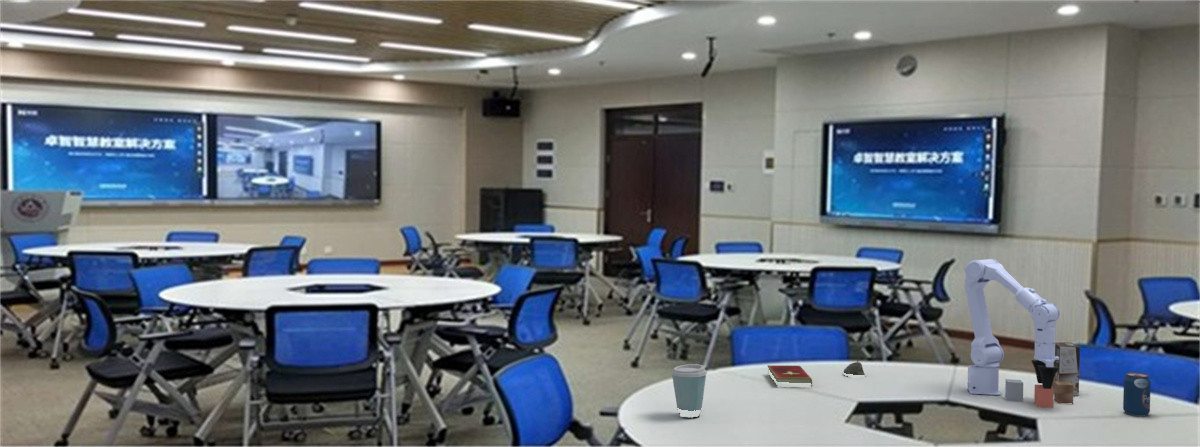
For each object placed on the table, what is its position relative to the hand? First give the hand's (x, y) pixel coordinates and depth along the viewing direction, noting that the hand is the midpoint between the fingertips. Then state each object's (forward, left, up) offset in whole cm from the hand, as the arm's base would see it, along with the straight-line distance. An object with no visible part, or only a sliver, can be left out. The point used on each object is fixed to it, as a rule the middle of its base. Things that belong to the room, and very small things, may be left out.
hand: (1044, 385), depth 284 cm
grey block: (-8, +6, -6) cm, 11 cm away
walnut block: (+7, +6, -6) cm, 11 cm away
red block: (0, 0, -6) cm, 6 cm away
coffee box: (+10, +20, -6) cm, 23 cm away
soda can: (+24, -5, -6) cm, 26 cm away
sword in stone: (-57, +31, -7) cm, 65 cm away
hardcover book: (-79, +16, -7) cm, 81 cm away
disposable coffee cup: (-106, -39, -6) cm, 113 cm away
